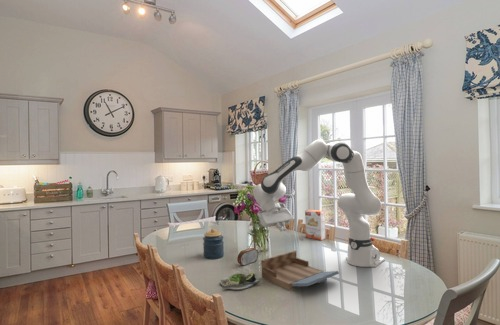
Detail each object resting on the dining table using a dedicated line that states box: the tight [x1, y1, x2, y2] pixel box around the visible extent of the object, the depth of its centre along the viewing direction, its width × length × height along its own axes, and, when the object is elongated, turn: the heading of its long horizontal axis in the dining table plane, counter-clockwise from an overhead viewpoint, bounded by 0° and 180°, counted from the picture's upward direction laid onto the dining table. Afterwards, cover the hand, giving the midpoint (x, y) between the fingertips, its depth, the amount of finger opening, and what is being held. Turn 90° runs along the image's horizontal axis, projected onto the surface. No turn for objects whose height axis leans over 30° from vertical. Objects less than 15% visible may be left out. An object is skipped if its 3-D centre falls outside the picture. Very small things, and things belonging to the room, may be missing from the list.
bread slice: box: [237, 247, 259, 267], centre depth 182 cm, size 15×3×8 cm, turn 134°
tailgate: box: [291, 270, 340, 287], centre depth 146 cm, size 22×2×10 cm
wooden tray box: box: [260, 250, 324, 291], centre depth 158 cm, size 24×20×9 cm
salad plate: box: [219, 272, 261, 291], centre depth 152 cm, size 19×18×5 cm
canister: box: [202, 228, 225, 260], centre depth 197 cm, size 13×13×18 cm
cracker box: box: [304, 208, 326, 241], centre depth 233 cm, size 14×6×21 cm, turn 43°
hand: (283, 230), depth 162 cm, fingers closed
